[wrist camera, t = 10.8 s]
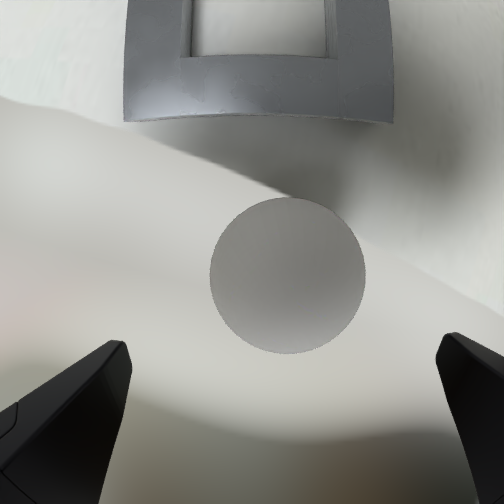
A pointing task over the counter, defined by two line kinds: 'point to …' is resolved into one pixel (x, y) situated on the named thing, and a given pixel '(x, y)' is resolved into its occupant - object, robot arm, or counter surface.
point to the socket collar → (258, 69)
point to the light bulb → (287, 275)
